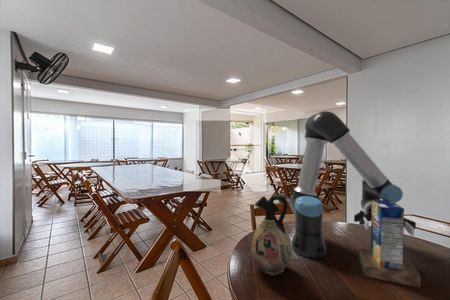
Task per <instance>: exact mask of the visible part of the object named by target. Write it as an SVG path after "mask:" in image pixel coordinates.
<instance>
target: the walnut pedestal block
mask: <svg viewBox="0 0 450 300" xmlns="http://www.w3.org/2000/svg"><path fill="white" fill-rule="evenodd" d="M358 259H359V263H360V265H361V268H362V272H363V274H364V277H367V278H372V279H378V280H382V281H386V282H387V281H388V282H392V283H397V284H401V285H407V286H412V287H416V288H421V285H422V284H421V281H422V280H421V278H422V277H421V274H420V273H419V272H418V271H417V269H416V268H415V266H414V265H413V264H412V263H411V261H410V260H409V259H408V257H407V255H403V270H397V269H391V268H384V267H380V266H379V265H378V263H377V261H376V260H375V258H374V257H373V255H372V253H371V249H364V248H359V247H358Z"/></svg>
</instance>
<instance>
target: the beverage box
mask: <svg viewBox="0 0 450 300" xmlns="http://www.w3.org/2000/svg"><path fill="white" fill-rule="evenodd" d="M404 218H405V208H403V206H401V205H399V204H398V203H397V202H396V203H394V202H393V201H386V200H382V199H380V200H372V211H371V221H370V224H371V225H370V227H371V228H370V229H371V230H370V250H371V253H372V255H373V257H374V258H375V260H376V261H377V263H378V265H379V266H380V267H384V268H391V269H397V270H403V256H404V235H405V234H404V232H405V231H404V230H405V227H404Z"/></svg>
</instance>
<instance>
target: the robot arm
mask: <svg viewBox="0 0 450 300" xmlns="http://www.w3.org/2000/svg"><path fill="white" fill-rule="evenodd" d="M304 127H305V128H304V129H305V133H304V134H305V135H304V139H305V141H306V144H305V147H304V148H305V149H304V154H303V159H302V162H301V167H300V172H299V176H298V177H299V178H298V182H297V186H296V187H294V188H293V191H292V195H290V197H289V201H288V204H289V207H290V211H292V213H293V215H294V219H295V221H294V222H295V223H294V225H295V228H294V230H295V231H294V234H293V237H292V239H291V241H290V245H291V247H292V248H291V250H292V249H293V250H294V251H295V252H296V253H295V252H294V251H293V250H292V251H293V252H294V253H295V254H297V253H298V254H297V255H299V254H300V256H301V255H302V256H303V257H304V258H310V259H311V258H312V259H319V258H320V259H321V258H323V257H326V255H327V245H326V242H325V239H324V236H323V221H324V220H323V214H324V208H323V207H324V206H323V202H322V200H320V199H319V198H317V196H318V193H317V192H316V186H317V181H318V177H319V172H320V168H321V163H322V159H323V153H324V148H325V145H326V144H328V143H329V144H333V145H334V146H335V147H336V148H337V149H338V151H339V152H340V153H341V154H342V155H343V157H345V159H346V160H347V162H349V164H350V165H351V166H352V167H353V168H354V169H355V170H356V172H357V173H358V174H359V175H360V176H361V178H362V179H361V183H362V184H361V187H362V189H361V191H362V193H361V194H362V195H361V199H360V206H361V209H363V210H360V211H359V212H357V213H356V214H354V216H353V220H354V221H353V222H354V223H357V222H359V223H358V224H359V225H361V226H364V228H365V230H366V231H367V230H368V231H369V226H370V225H369V224H370V223H369V222H371V211H372V200H386V201H393V202H394V203H396V204H397V203H399V202H400V201H401V200H402V198H403V196H404V193H403V190H402V189H401V187H399V186H397V185H396V184H393V183H392V182H391V181H390V179H389V178H388V177H387V176H386V175H385V174H384V172H382V170H381V169H380V167H378V165H376V163H375V162H374V161H373V160H372V158H371V157H370V156H369V155H368V154H367V153H366V151H365V150H364V149H363V148H362V146H361V145H360V144H359V142H357V141H356V140H355V139H354V138H355V137H353V135H352V134H351V133H350V132H351V130H350V129H349V127H348V126H347V125H346V124H345V123H344V122H343V120H342V119H341V118H340V117H339V116H338V115H337V114H335V113H334V112H331V111H328V110H323V111H320V112H318V113H316V114H313V115H311V116H310V117H309V118H308V119H307V120H306V122H305V125H304ZM416 225H417V224H416V221H413V220H410V219H408V218H406V217H404V230H405V231H406V232H407V233H408V234H409V235H410V236H412V237H413V236H415V230H416V228H417V227H416Z"/></svg>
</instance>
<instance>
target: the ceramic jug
mask: <svg viewBox="0 0 450 300" xmlns="http://www.w3.org/2000/svg"><path fill="white" fill-rule="evenodd" d="M274 201H280V202H281V203H282V210H281V212H280V214H279V218H278V219H277V216H276V213H277V212H279V211H280V209H279V207H278V206H277V205H276V204H275V203H274ZM288 204H289V203H288V201H287V198H286V197H285V196H283V195H282V194H274V195H271V197H270V198H269V199H267V198H266V196H262V197H261V198H259V200H257V201H256V202H255V204H254V206H255V207H256V208H259V209H261V210H263V211H264V212H265V216H264V218H263V220H262V221H261V222H260V224H259V225H258V226H257V229H256V230H255V232H254V234H253V236H252V240H251V245H250V253H251V256H252V259H253V260H254V261H253V262H254V263H255V264H256V265H257V266H258V268H259V267H260V269H261V270H262V271H264V272H266V273H269V274H278V273H280V274H282V273H283V272H284V271H285V268H286V267H287V266H288V265H289V263H290V262H291V258H292V248H291V241H290V239H289V237H288V235H287V233H286V229H285V225H284V219H285V216H286V214H287V211H288ZM275 212H276V213H275ZM260 269H259V270H260ZM281 272H282V273H281ZM278 275H279V274H278Z"/></svg>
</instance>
